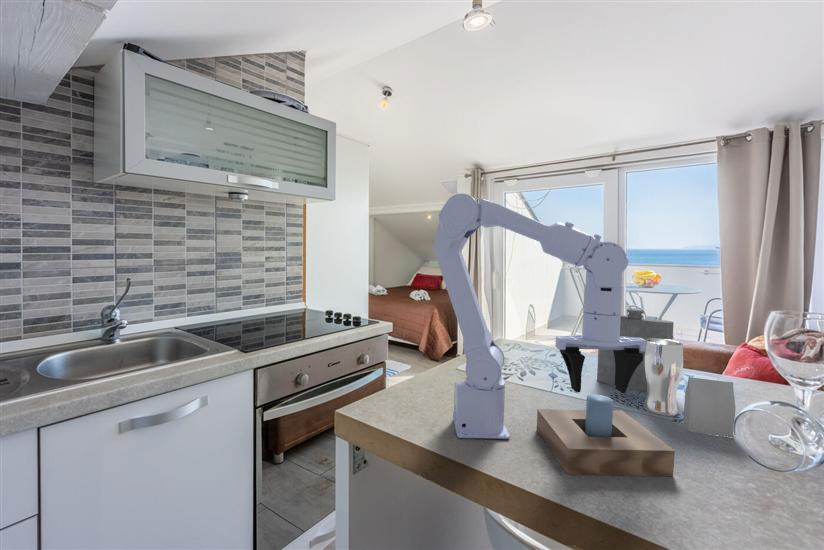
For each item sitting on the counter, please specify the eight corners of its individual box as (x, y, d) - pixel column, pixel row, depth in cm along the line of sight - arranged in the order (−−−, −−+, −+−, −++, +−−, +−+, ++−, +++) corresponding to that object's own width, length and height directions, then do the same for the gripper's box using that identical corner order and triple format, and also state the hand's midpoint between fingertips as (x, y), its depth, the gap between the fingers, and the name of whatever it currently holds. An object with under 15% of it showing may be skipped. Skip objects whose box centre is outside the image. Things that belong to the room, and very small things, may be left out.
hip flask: (669, 391, 90) (674, 311, 89) (669, 396, 87) (674, 313, 86) (597, 378, 99) (601, 305, 98) (595, 382, 96) (599, 306, 95)
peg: (591, 456, 61) (593, 403, 60) (580, 443, 65) (582, 394, 64) (615, 457, 61) (618, 404, 60) (602, 444, 65) (605, 394, 64)
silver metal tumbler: (662, 418, 75) (666, 346, 74) (633, 405, 82) (637, 338, 81) (688, 415, 77) (692, 344, 76) (658, 402, 84) (661, 337, 83)
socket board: (567, 474, 56) (568, 448, 55) (536, 429, 70) (537, 409, 69) (673, 476, 55) (674, 450, 55) (621, 431, 69) (622, 410, 69)
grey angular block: (733, 438, 67) (737, 385, 67) (688, 431, 70) (691, 379, 69) (725, 430, 71) (729, 379, 70) (683, 423, 73) (686, 374, 73)
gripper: (630, 309, 66) (627, 383, 67) (550, 308, 67) (547, 381, 67) (656, 316, 59) (651, 398, 60) (565, 314, 60) (562, 396, 60)
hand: (597, 390), depth 63 cm, fingers open, 7 cm apart
